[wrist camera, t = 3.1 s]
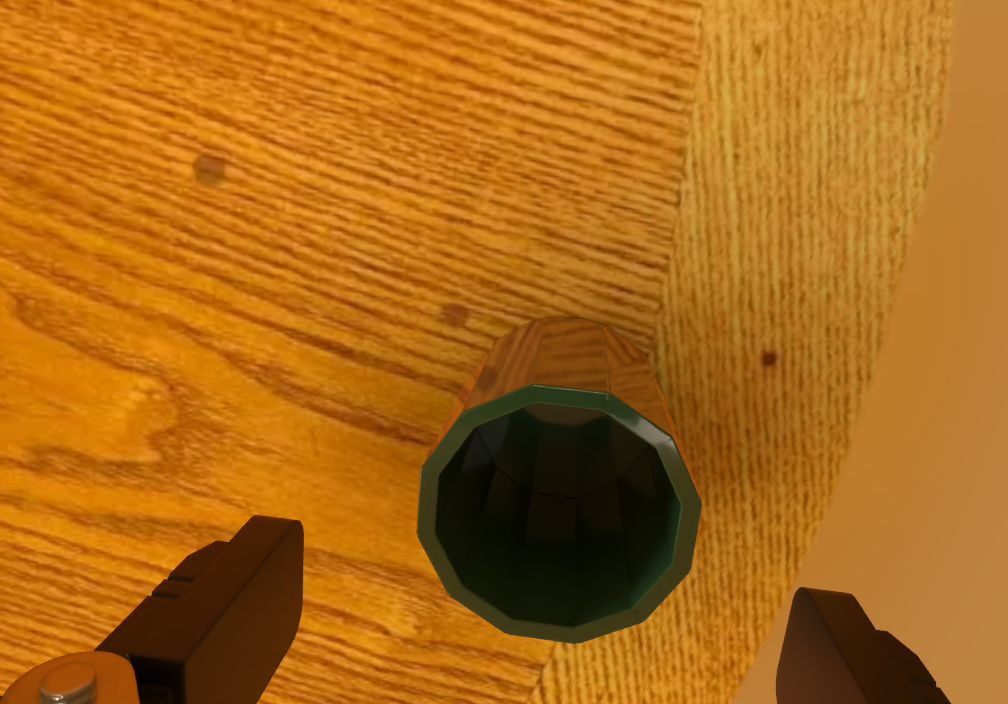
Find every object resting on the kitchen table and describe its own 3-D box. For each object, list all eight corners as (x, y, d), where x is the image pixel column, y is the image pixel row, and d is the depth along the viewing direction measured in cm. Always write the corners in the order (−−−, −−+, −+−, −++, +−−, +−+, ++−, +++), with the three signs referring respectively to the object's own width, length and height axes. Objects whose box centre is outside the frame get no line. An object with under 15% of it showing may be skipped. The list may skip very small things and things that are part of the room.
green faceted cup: (675, 327, 20) (720, 405, 13) (647, 512, 21) (675, 659, 15) (473, 306, 20) (425, 371, 14) (460, 488, 22) (410, 621, 15)
